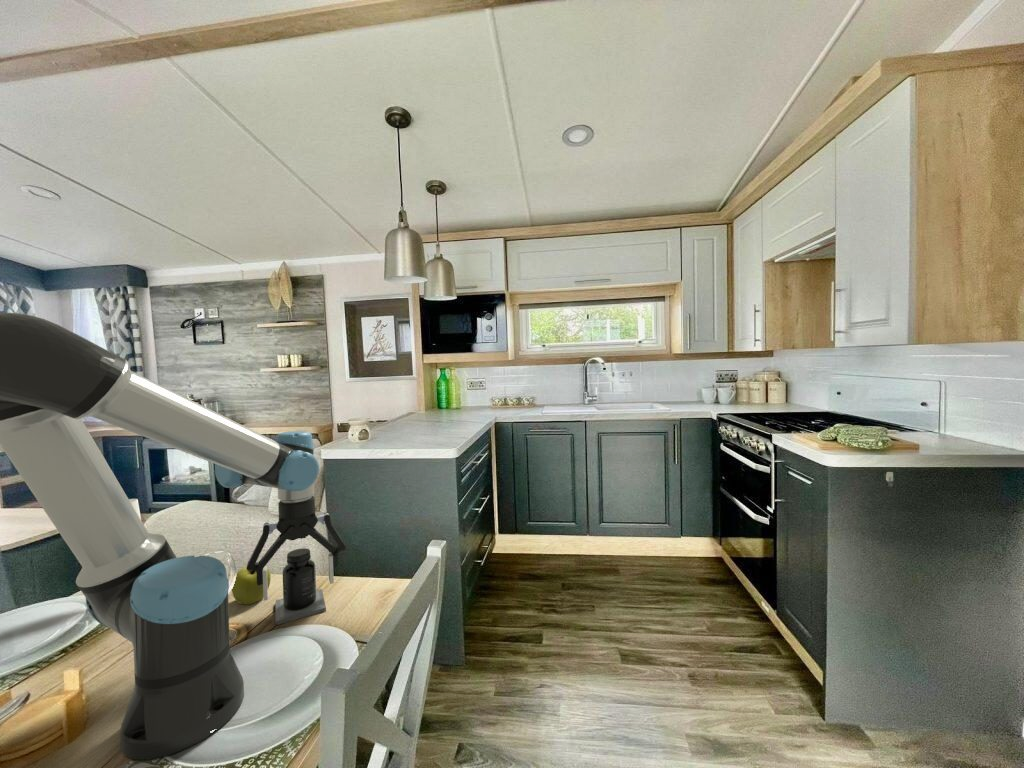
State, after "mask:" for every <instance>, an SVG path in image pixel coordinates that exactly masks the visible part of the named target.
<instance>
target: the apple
mask: <svg viewBox="0 0 1024 768" xmlns="http://www.w3.org/2000/svg"><path fill="white" fill-rule="evenodd" d="M236 573H237V577H236V581H235V584H234V587H233V589H231V592H232V596H233V598H234V600H235V601H236V602H237V603H238V604H242V605H246V606H247V605H252V604H253V603H257V602H258V601H260V600H262V599H263V584H262V585H258V584H257V573H256V571H255V570H250V571H248V570H247V565H245V566H243V567H241V568H240V569H239V570H238V571H237V572H236ZM270 585H271V571H270V570H269V569H268V568H267V587H268V589H269V587H270Z"/></svg>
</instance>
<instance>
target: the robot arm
mask: <svg viewBox="0 0 1024 768" xmlns="http://www.w3.org/2000/svg"><path fill="white" fill-rule="evenodd" d="M88 417H89V418H95V419H97V420H100V421H101V422H102V421H103V422H104V423H107V424H110V425H113V426H115V427H118V428H120V429H123V430H126V431H128V432H131V433H134V434H136V435H138V436H140V437H141V436H142V437H144V438H147V439H149V440H152V441H154V442H157V443H159V444H162V445H165V446H167V447H171V448H173V449H175V450H178V451H181V452H183V453H186V454H189V455H190V456H193V457H196V458H199V459H201V460H204V461H207V462H209V463H212V464H214V473H215V478H216V481H217V482H218V483H219V484H220V486H222V487H224V488H227V489H229V488H235V487H238V488H239V487H241V486H245V485H255V486H260V487H267V488H268V487H269V488H274V489H277V499H278V500H279V501H278V504H277V505H278V521H277V522H276V523H269V522H264V524H263V525H262V533H261V536H260V537H259V539H258V542H257V544H256V546H255V548H254V550H253V552H252V553H251V556H250V557H249V559H248V562H247V563H246V566H247V570H248V571H250V570H255V571H256V573H257V584H258V585H262V584H263V598H262V599H263V601H267V600H268V599H269V598H268V597H269V592H268V591H269V588H268V587H267V569H268V567H267V566H268V565H267V564H268V563H269V562H270V561H271V559H272V558H273V556H275V554H276V553H277V552H278V550H279V549H280V548H281V547H282V545H283V544H285V543H286V541H287V540H289V541H296V540H298V539H306V538H307V537H308V536H310V537H311V538H312V539H314V540H316V542H318V543H319V544H320V545H321V546H323V547H324V548H325V549H326V550H327V551H328V554H327V555H328V556H327V557H328V580H329V581H328V582H329V584H330V585H332V584H334V581H335V580H334V579H335V578H334V576H335V575H334V569H335V568H338V566H339V553H340V552H342V551H345V550H346V549H347V546H346V545H345V543H344V541H343V539H342V537H341V535H340V534H339V533H338V532H337V530H336V527H334V525H333V523H332V520H331V516H330V514H329V512H324V513H323V514H322V515H318V516H317V515H316V499H315V497H314V495H315V482H316V480H317V479H318V475H319V473H320V464H319V461H318V459H317V457H316V456H315V455H314V451H315V448H314V440H313V435H312V433H311V432H309V431H307V430H294V431H293V430H292V431H291V430H290V431H284V432H280V433H277V434H276V436H275V440H274V439H272V438H270V437H268V436H265V435H263V434H261V433H259V432H257V431H256V430H254V429H251V428H250V427H247V426H245V425H243V424H241V423H239V422H237V421H235V420H233V419H231V418H229V417H226V416H224V415H223V414H220V413H219V412H217V411H214V410H212V409H211V408H209V407H206V406H204V405H202V404H200V403H198V402H196V401H193V400H191V399H190V398H188V397H186V396H183V395H181V394H179V393H178V392H175V391H173V390H171V389H169V388H167V387H165V386H163V385H161V384H159V383H157V382H155V381H153V380H150V379H148V378H147V377H145V376H142V375H141V374H139V373H137V372H134V371H132V370H131V369H130V364H129V362H128V360H127V359H125V358H123V357H122V356H119V355H117V354H115V353H113V352H111V351H109V350H107V349H105V348H104V347H102V346H100V345H99V344H96V343H95V342H92V341H90V340H88V339H87V338H85V337H83V336H81V335H78V333H75V332H73V331H71V330H69V329H67V328H65V327H63V326H61V325H59V324H57V323H55V322H52V321H50V320H48V319H45V318H41V317H37V316H34V315H29V314H26V313H18V312H16V313H15V312H0V447H1V449H2V450H3V452H4V454H6V456H7V457H8V459H9V460H10V462H11V463H12V465H13V467H14V468H15V469H16V471H17V473H18V474H19V476H20V477H21V478H22V480H23V481H24V483H25V484H26V486H27V487H28V488H29V490H30V491H31V493H32V494H33V496H34V497H35V499H36V501H37V502H38V503H39V505H40V507H41V508H42V510H43V511H44V512H45V514H46V515H47V517H48V518H49V520H50V521H51V522H52V524H53V526H54V527H55V529H56V531H58V533H59V534H60V536H61V538H62V540H64V542H65V544H66V545H67V546H68V547H69V550H70V551H71V553H72V554H73V555H74V557H75V558H76V559H77V561H78V563H79V564H80V566H81V570H80V571H79V572H78V575H77V577H76V580H75V584H76V585H77V587H78V588H79V590H80V591H81V593H82V594H83V596H84V598H85V604H86V607H87V610H88V612H89V614H90V616H91V617H92V618H93V619H94V620H95V621H96V622H97V623H99V624H100V625H102V626H103V627H107V628H109V629H111V630H112V631H114V632H116V633H117V634H118V635H120V636H122V638H124V639H125V640H128V641H129V642H131V644H132V647H133V664H134V688H133V690H132V694H131V697H130V699H129V701H128V702H129V703H128V706H127V708H126V712H125V714H124V717H123V719H122V723H121V725H120V733H119V739H120V740H119V742H120V750H121V753H123V755H124V756H126V757H128V758H130V759H132V760H133V759H134V760H153V759H158V758H162V757H166V756H170V755H172V754H175V753H178V752H180V751H181V752H182V751H183V750H186V749H188V748H189V747H193V746H194V745H196V744H198V743H199V742H202V741H203V740H205V739H206V738H209V736H211V735H212V734H211V733H210V731H212V730H214V729H218V728H219V729H221V728H222V727H223V726H224V725H225V724H227V723H228V722H229V721H230V720H231V718H233V717H234V715H235V714H236V713H237V712H238V710H239V708H240V707H242V703H243V701H244V698H245V687H244V686H245V685H244V684H245V683H244V678H243V676H242V673H241V671H240V669H239V667H238V665H237V663H236V661H235V659H234V657H233V655H232V653H231V648H230V616H229V613H230V612H229V588H230V585H229V578H228V575H227V568H226V566H225V564H224V563H223V562H222V561H221V560H220V559H218V558H216V557H214V556H208V555H198V556H195V555H187V556H186V555H185V556H179V557H177V556H176V554H175V552H174V550H173V549H172V547H171V546H170V544H169V542H168V541H167V539H166V537H165V536H164V535H163V534H159V533H149V531H148V529H147V528H146V526H145V525H144V523H143V521H142V519H141V520H140V518H139V516H138V514H137V513H136V511H135V509H134V508H133V506H132V504H131V503H130V501H129V499H130V498H129V497H128V496H127V494H126V493H125V490H124V489H123V487H122V486H121V484H120V482H119V481H118V478H117V477H116V475H115V473H114V472H113V470H112V469H111V467H110V465H109V464H108V462H107V460H106V458H105V457H104V455H103V453H102V452H101V450H100V448H99V447H98V445H97V444H96V441H95V439H94V438H93V437H92V435H91V433H90V432H89V430H88V428H87V426H86V424H85V423H84V421H83V420H82V419H84V418H88ZM318 522H319V523H320V524H321V525H325V526H326V527H325V528H326V529H327V531H328V532H329V533H330V535H331V536H332V538H333V540H334V542H335V543H336V544H337V545H334V544H333V543H332V542H331V541H329V539H327V538H326V537H325V536H324V535H322V534H321V533H320V532H319V531H318V530H317V529H316V528H315V527H316V525H317V524H318ZM275 530H277V532H279V533H280V534H279V535H278V536H277V538H276V540H275V541H274V542H273V543H272V544H271V546H270V547H269V549H267V550H266V552H265V553H264V555H263V556H262V557H261V558H260V560H259V561H258V562H257V560H258V559H259V557H260V555H261V553H262V551H263V549H264V546H265V545H266V543H267V540H268V539H269V535H271V534H273V532H274V531H275ZM219 729H218V730H219Z"/></svg>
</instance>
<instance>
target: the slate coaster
mask: <svg viewBox="0 0 1024 768" xmlns="http://www.w3.org/2000/svg"><path fill="white" fill-rule="evenodd" d="M326 611H327V606H326V601H325V596H324V592H323V589H322V588H320V589H316V600H315V601H314V603H313V604H311V605H310V606H308V607H306V608H304V609H300V610H287V609H286V608H285V607H284V602H283V598H279V599H276V600H275V620H274V621H275V626H278V625H280V624H284V623H287V622H292V621H295V620H299V619H301V618H305V617H310V616H312V615H313V616H314V615H316V614H317V615H318V614H320V613H324V612H326Z"/></svg>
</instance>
